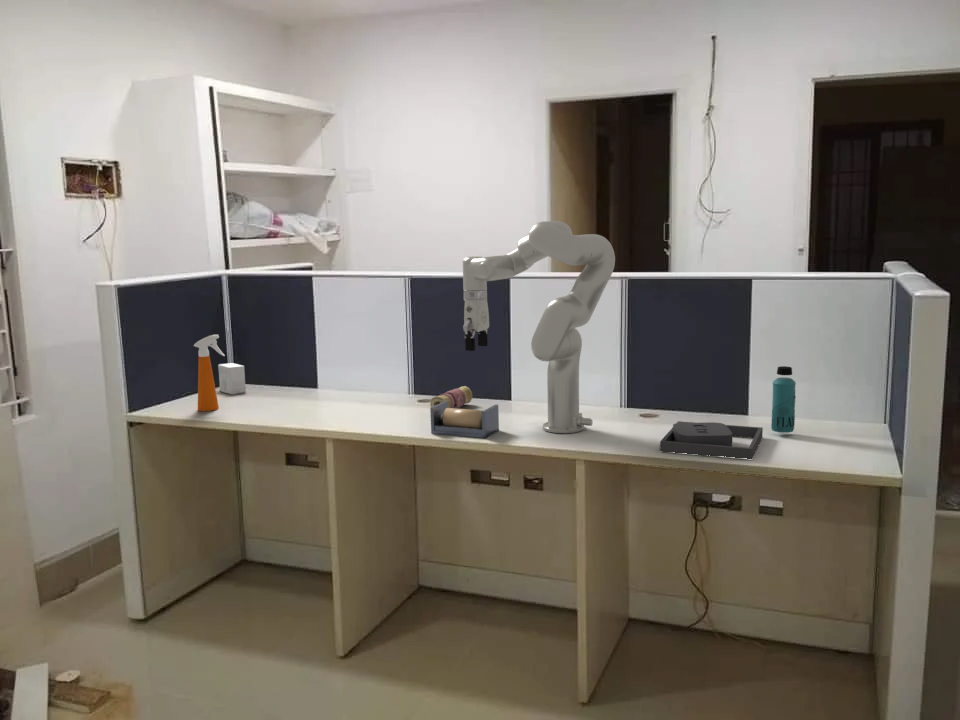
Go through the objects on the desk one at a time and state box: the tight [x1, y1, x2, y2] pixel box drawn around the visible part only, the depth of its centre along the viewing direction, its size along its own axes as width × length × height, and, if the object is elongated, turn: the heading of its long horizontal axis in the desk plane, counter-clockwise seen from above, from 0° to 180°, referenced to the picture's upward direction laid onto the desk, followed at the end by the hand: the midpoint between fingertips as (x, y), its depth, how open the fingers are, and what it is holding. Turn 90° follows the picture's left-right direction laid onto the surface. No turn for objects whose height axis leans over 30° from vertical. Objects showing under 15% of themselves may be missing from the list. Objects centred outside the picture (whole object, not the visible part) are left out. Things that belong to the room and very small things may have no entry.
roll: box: [443, 407, 483, 429], centre depth 261 cm, size 12×6×6 cm, turn 66°
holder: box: [429, 401, 500, 439], centre depth 261 cm, size 18×10×8 cm, turn 66°
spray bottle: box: [193, 334, 226, 412], centre depth 301 cm, size 7×11×26 cm, turn 90°
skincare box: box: [217, 362, 247, 395], centre depth 332 cm, size 10×6×10 cm, turn 40°
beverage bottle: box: [770, 365, 797, 434], centre depth 248 cm, size 6×7×20 cm
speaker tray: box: [659, 421, 764, 460], centre depth 241 cm, size 24×24×3 cm
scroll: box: [429, 385, 473, 409], centre depth 291 cm, size 8×8×20 cm
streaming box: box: [672, 421, 733, 446], centre depth 240 cm, size 14×14×5 cm
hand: (476, 348), depth 279 cm, fingers open, 9 cm apart
